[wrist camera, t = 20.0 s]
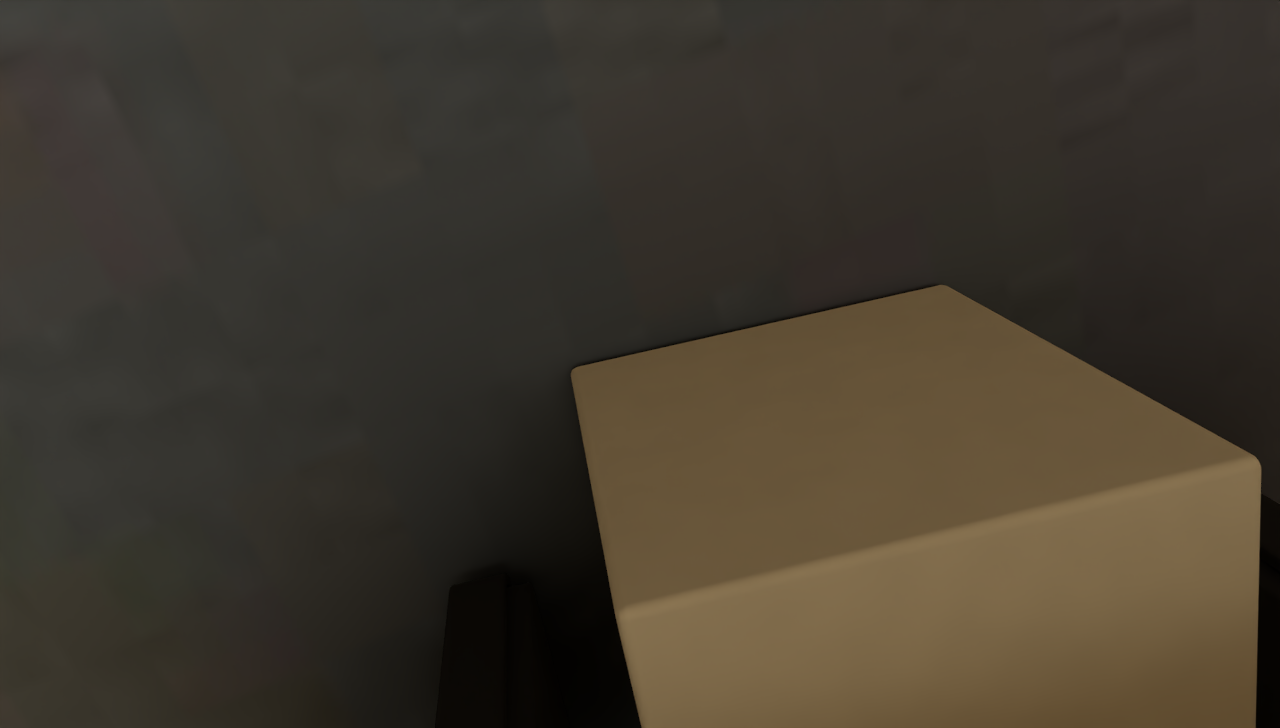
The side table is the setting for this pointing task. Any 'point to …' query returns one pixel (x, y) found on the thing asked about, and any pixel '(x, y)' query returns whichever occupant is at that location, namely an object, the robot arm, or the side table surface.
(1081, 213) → the side table surface
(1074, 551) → the tan rectangular block
